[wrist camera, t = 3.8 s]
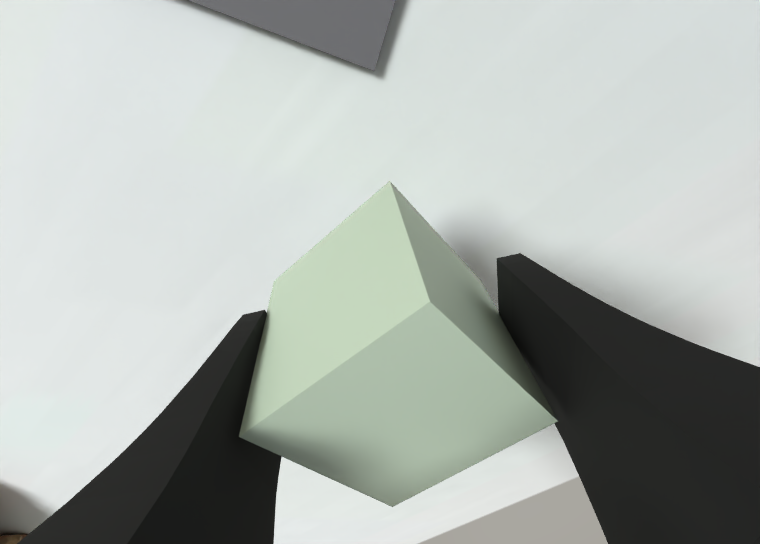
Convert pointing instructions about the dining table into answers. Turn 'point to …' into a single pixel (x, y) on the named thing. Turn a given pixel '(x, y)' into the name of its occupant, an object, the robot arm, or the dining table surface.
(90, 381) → the dining table surface
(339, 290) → the sage cube
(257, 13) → the mat
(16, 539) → the figurine
